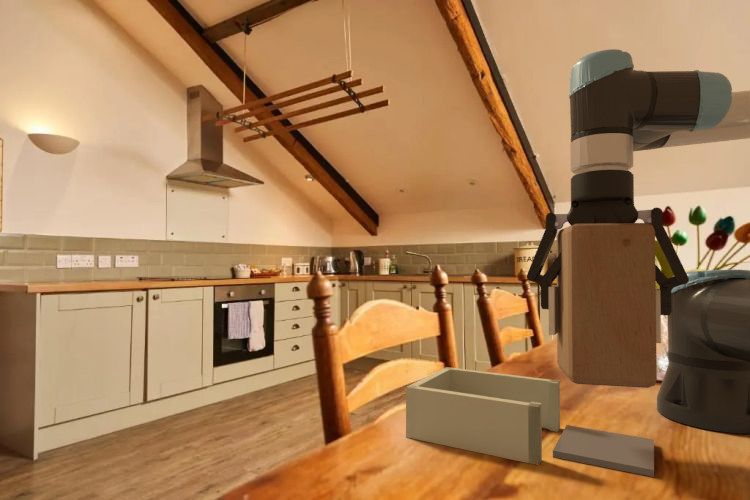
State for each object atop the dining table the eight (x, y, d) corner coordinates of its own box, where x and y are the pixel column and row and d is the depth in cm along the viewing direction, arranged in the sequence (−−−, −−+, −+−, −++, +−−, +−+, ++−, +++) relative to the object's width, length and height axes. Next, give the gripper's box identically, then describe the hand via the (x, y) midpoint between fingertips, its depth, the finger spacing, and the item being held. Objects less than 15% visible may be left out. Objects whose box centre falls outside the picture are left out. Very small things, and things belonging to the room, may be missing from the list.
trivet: (654, 445, 63) (653, 439, 63) (653, 477, 54) (653, 470, 54) (566, 430, 69) (566, 424, 69) (552, 456, 59) (552, 450, 59)
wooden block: (660, 390, 56) (658, 222, 56) (570, 385, 58) (569, 223, 58) (631, 371, 65) (630, 228, 66) (556, 368, 67) (555, 229, 68)
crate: (560, 428, 70) (559, 380, 70) (538, 465, 57) (538, 406, 57) (446, 408, 79) (446, 367, 79) (406, 437, 66) (406, 386, 66)
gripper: (708, 169, 60) (711, 341, 59) (517, 184, 72) (517, 327, 71) (715, 157, 53) (718, 350, 52) (503, 176, 65) (503, 333, 65)
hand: (602, 337), depth 62 cm, fingers closed on wooden block, 12 cm apart
